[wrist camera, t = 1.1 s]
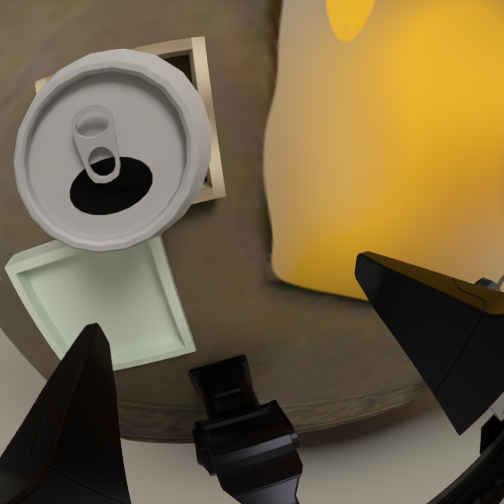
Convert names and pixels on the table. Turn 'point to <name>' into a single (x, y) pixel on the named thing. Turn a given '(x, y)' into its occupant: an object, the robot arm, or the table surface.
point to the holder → (202, 84)
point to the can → (112, 151)
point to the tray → (104, 299)
